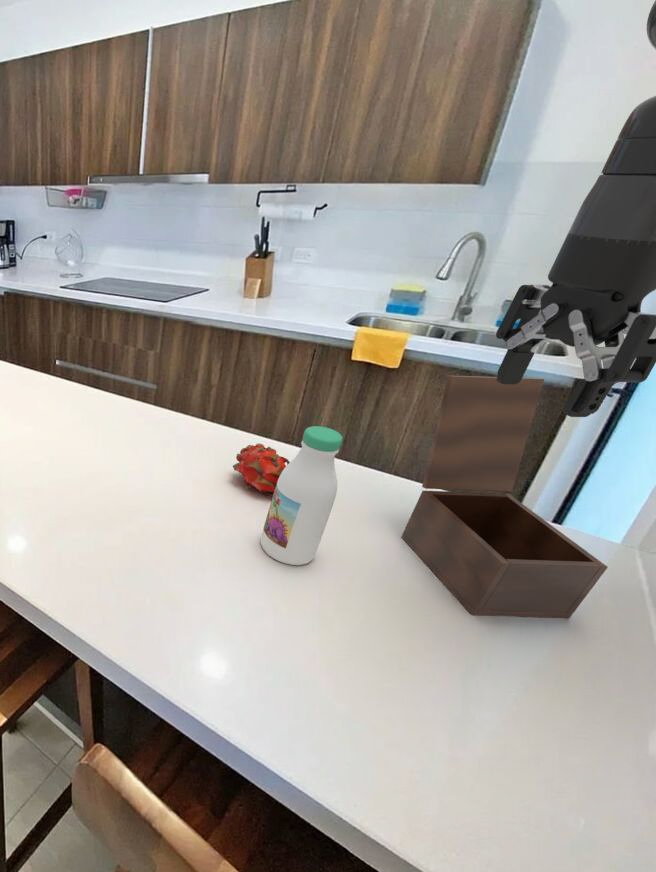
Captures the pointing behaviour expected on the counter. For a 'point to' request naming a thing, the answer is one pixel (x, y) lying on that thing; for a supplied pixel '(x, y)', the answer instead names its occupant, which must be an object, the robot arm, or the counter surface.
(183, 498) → the counter surface
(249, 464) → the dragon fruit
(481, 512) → the tea box
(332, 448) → the milk bottle
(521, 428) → the tea lid
